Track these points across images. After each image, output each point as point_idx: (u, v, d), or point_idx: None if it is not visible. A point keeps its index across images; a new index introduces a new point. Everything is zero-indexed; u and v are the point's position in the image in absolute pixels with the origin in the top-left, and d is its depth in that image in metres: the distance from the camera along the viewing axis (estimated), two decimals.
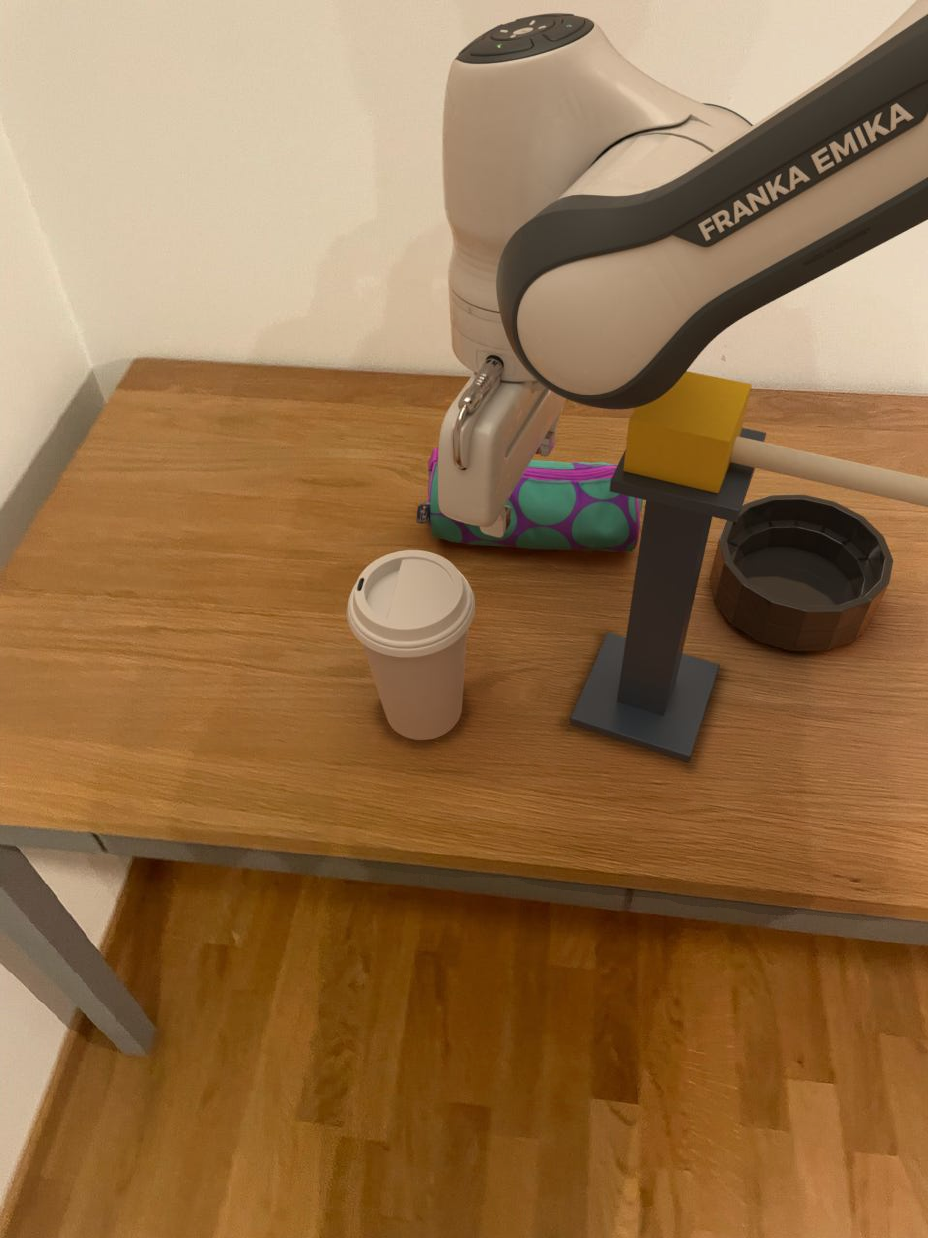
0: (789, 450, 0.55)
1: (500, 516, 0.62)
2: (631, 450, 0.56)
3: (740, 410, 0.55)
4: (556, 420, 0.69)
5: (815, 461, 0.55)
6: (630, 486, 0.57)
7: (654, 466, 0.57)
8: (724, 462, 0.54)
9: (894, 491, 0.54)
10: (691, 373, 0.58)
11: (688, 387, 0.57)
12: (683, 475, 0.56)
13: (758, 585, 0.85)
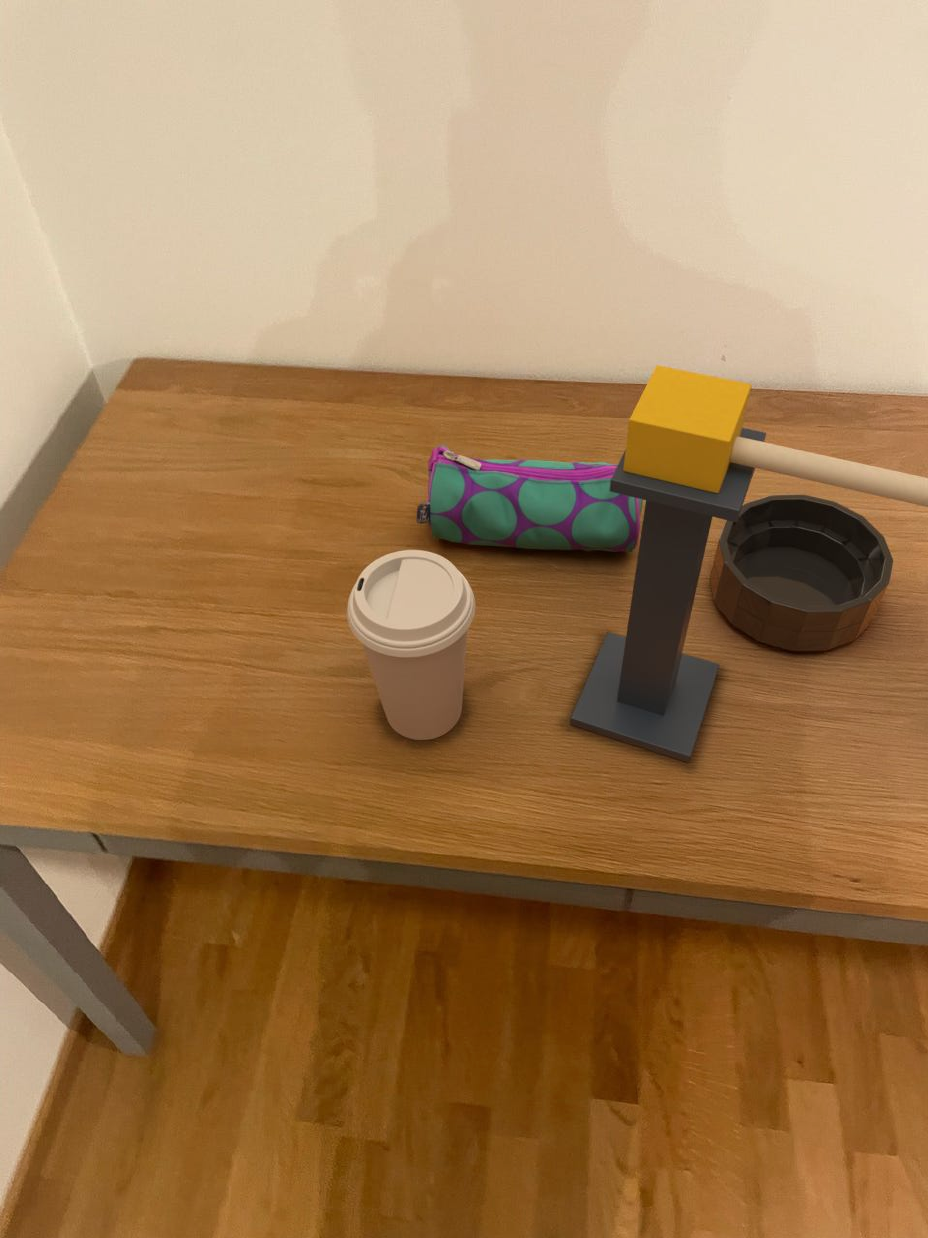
0: (789, 450, 0.55)
1: None
2: (631, 450, 0.56)
3: (740, 410, 0.55)
4: None
5: (815, 461, 0.55)
6: (630, 486, 0.57)
7: (654, 466, 0.57)
8: (724, 462, 0.54)
9: (894, 491, 0.54)
10: (691, 373, 0.58)
11: (688, 387, 0.57)
12: (683, 475, 0.56)
13: (758, 585, 0.85)
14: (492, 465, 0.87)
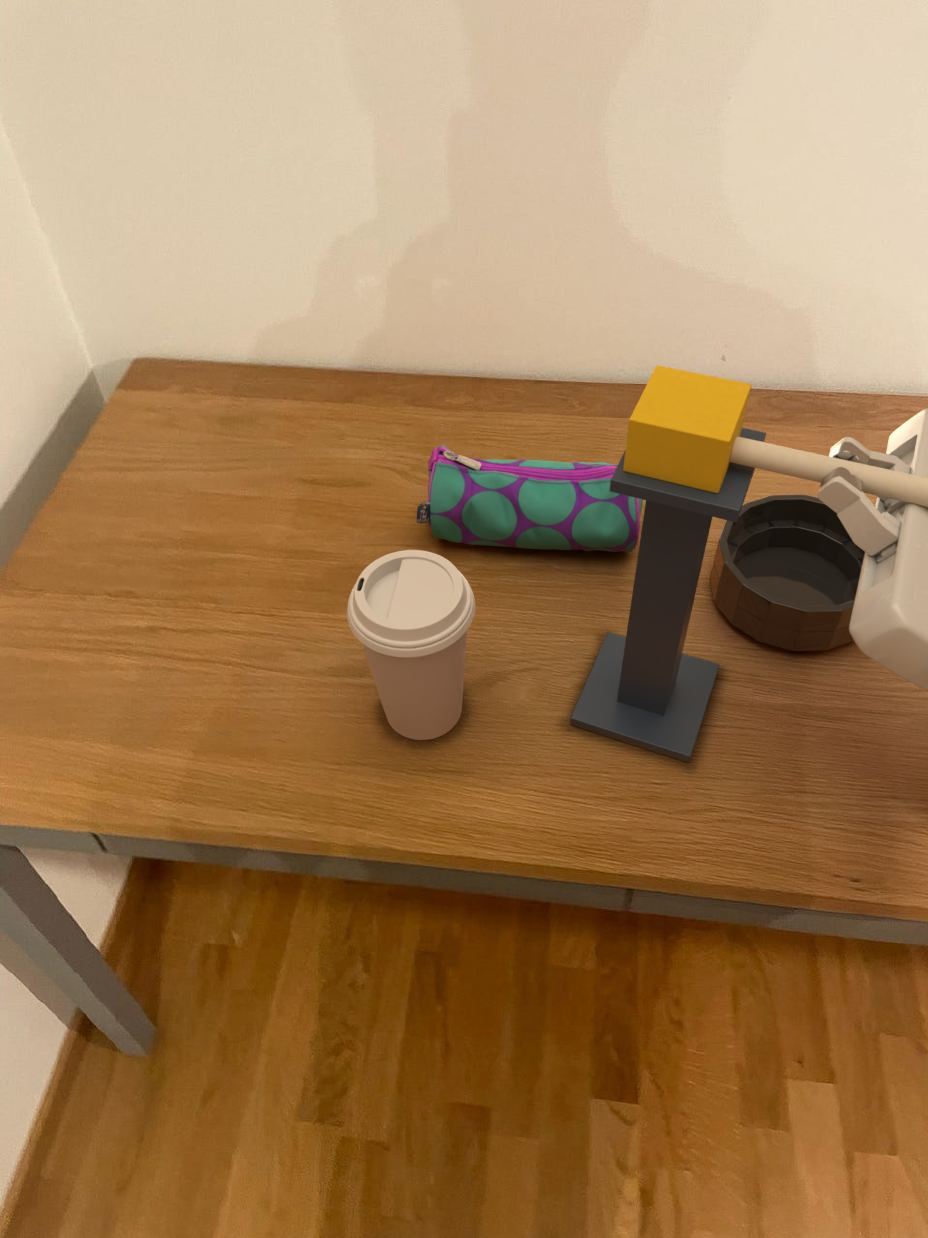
0: (789, 450, 0.55)
1: (846, 529, 0.54)
2: (631, 450, 0.56)
3: (740, 410, 0.55)
4: None
5: (815, 461, 0.55)
6: (630, 486, 0.57)
7: (654, 466, 0.57)
8: (724, 462, 0.54)
9: (894, 491, 0.54)
10: (691, 373, 0.58)
11: (688, 387, 0.57)
12: (683, 475, 0.56)
13: (758, 585, 0.85)
14: (492, 465, 0.87)
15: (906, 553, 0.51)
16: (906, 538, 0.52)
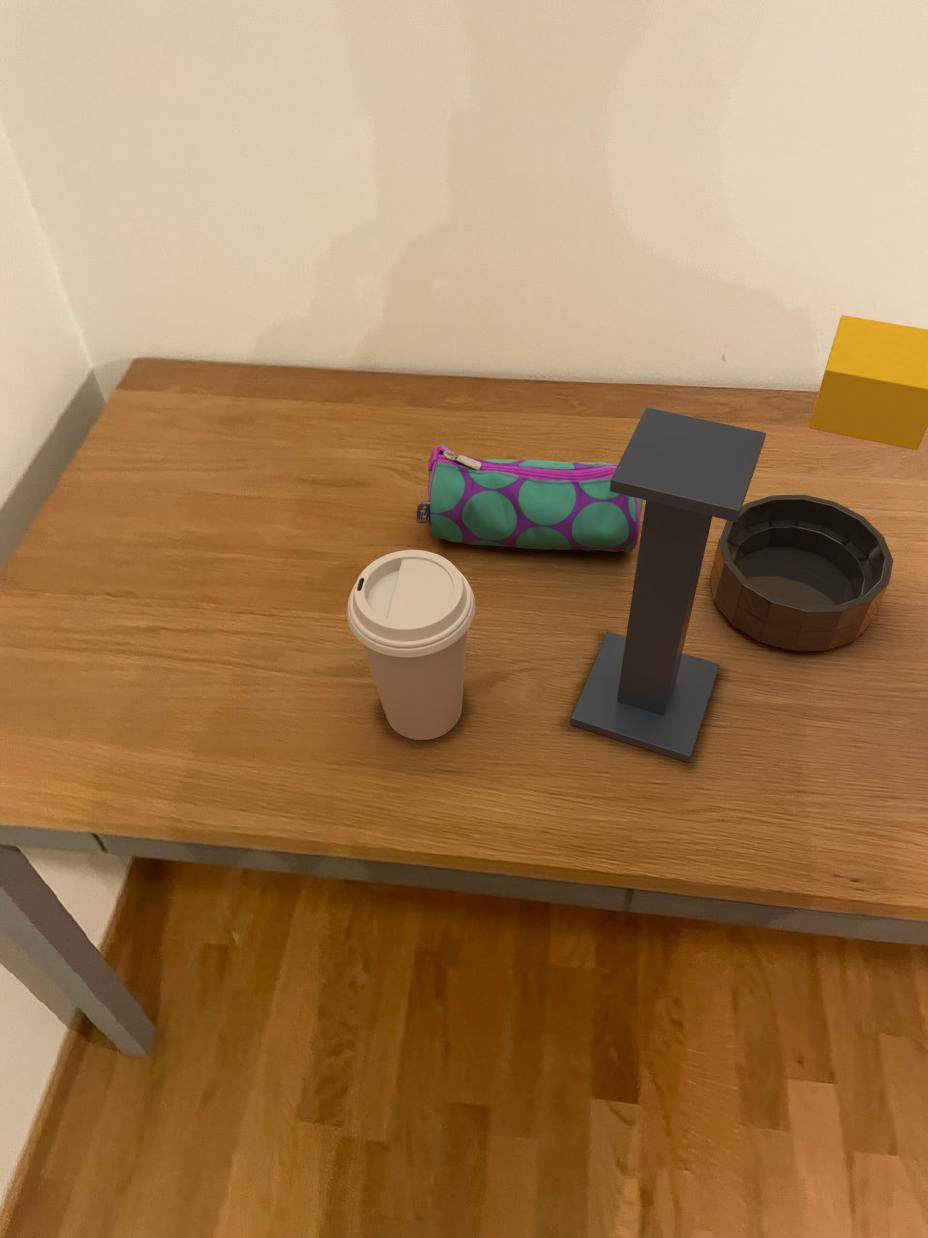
0: None
1: None
2: (822, 404, 0.52)
3: None
4: None
5: None
6: (630, 486, 0.57)
7: (846, 422, 0.52)
8: None
9: None
10: (881, 322, 0.54)
11: (882, 336, 0.53)
12: (880, 431, 0.52)
13: (758, 585, 0.85)
14: (492, 465, 0.87)
15: None
16: None
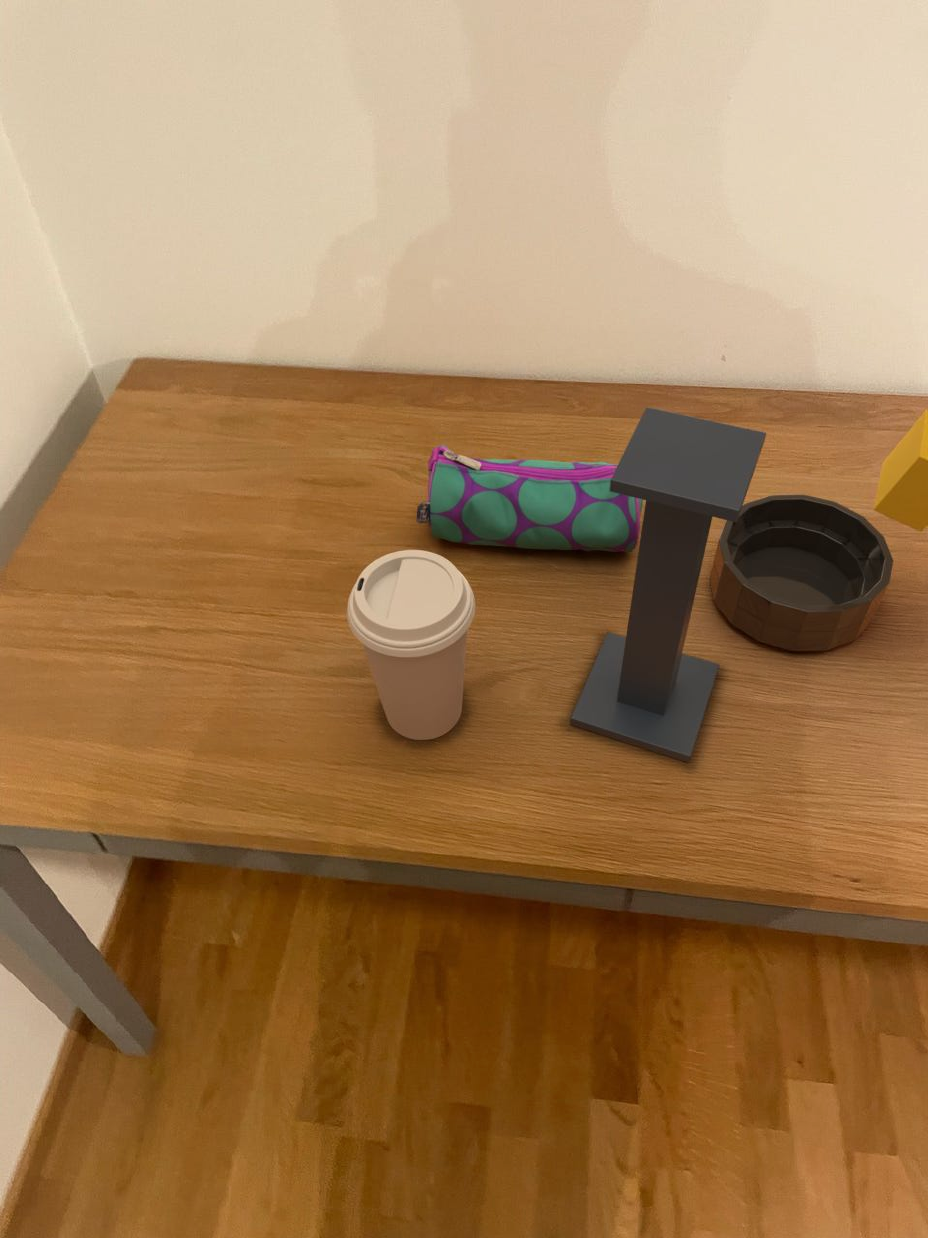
0: None
1: None
2: (902, 519, 0.71)
3: (923, 431, 0.68)
4: None
5: None
6: (630, 486, 0.57)
7: (924, 510, 0.70)
8: None
9: None
10: (898, 444, 0.73)
11: (897, 454, 0.72)
12: None
13: (758, 585, 0.85)
14: (492, 465, 0.87)
15: None
16: None
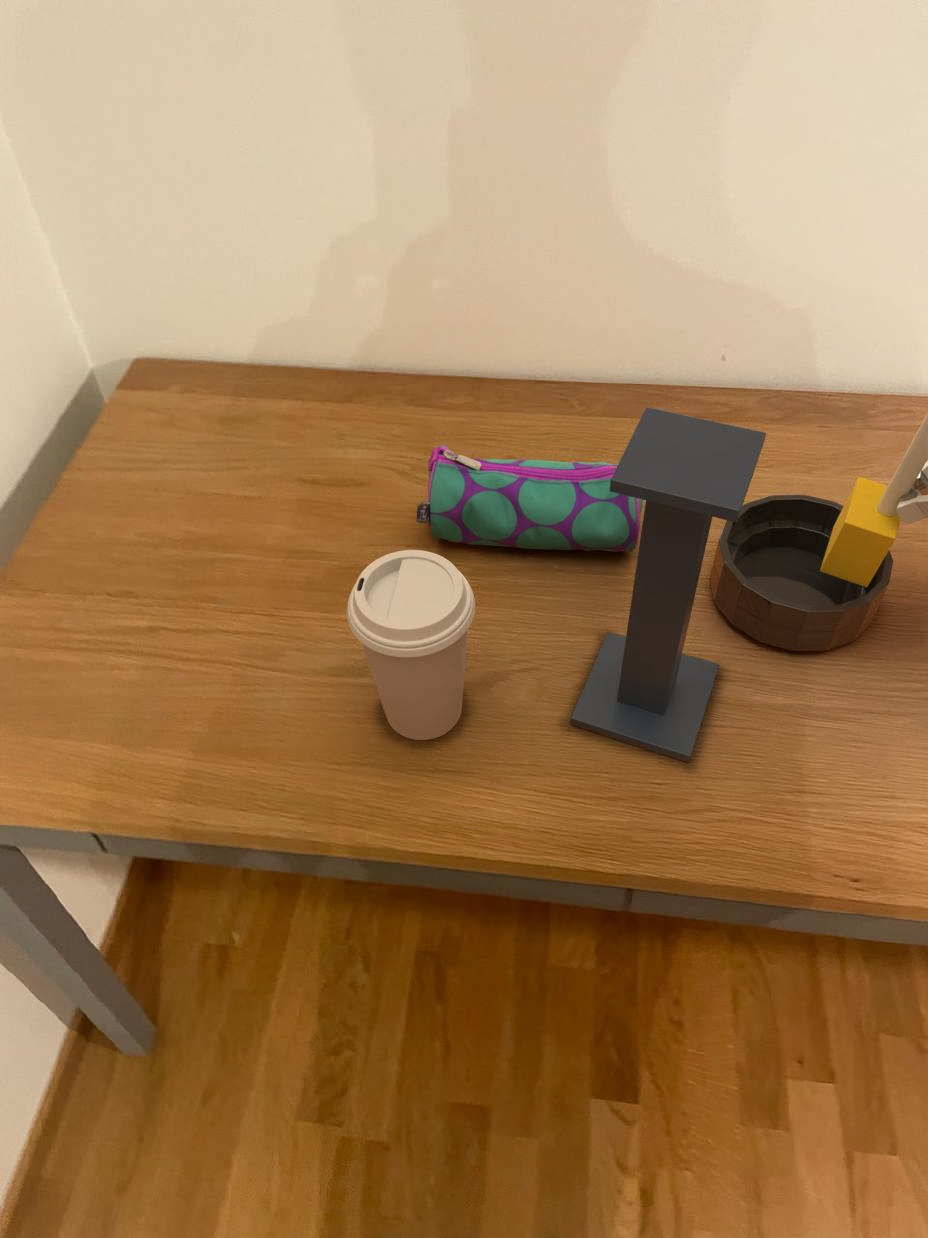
0: (892, 477, 0.72)
1: None
2: (847, 577, 0.78)
3: (852, 498, 0.76)
4: None
5: (901, 464, 0.71)
6: (630, 486, 0.57)
7: (864, 569, 0.76)
8: (864, 529, 0.73)
9: None
10: (842, 509, 0.80)
11: (839, 518, 0.79)
12: (874, 554, 0.75)
13: (758, 585, 0.85)
14: (492, 465, 0.87)
15: None
16: None
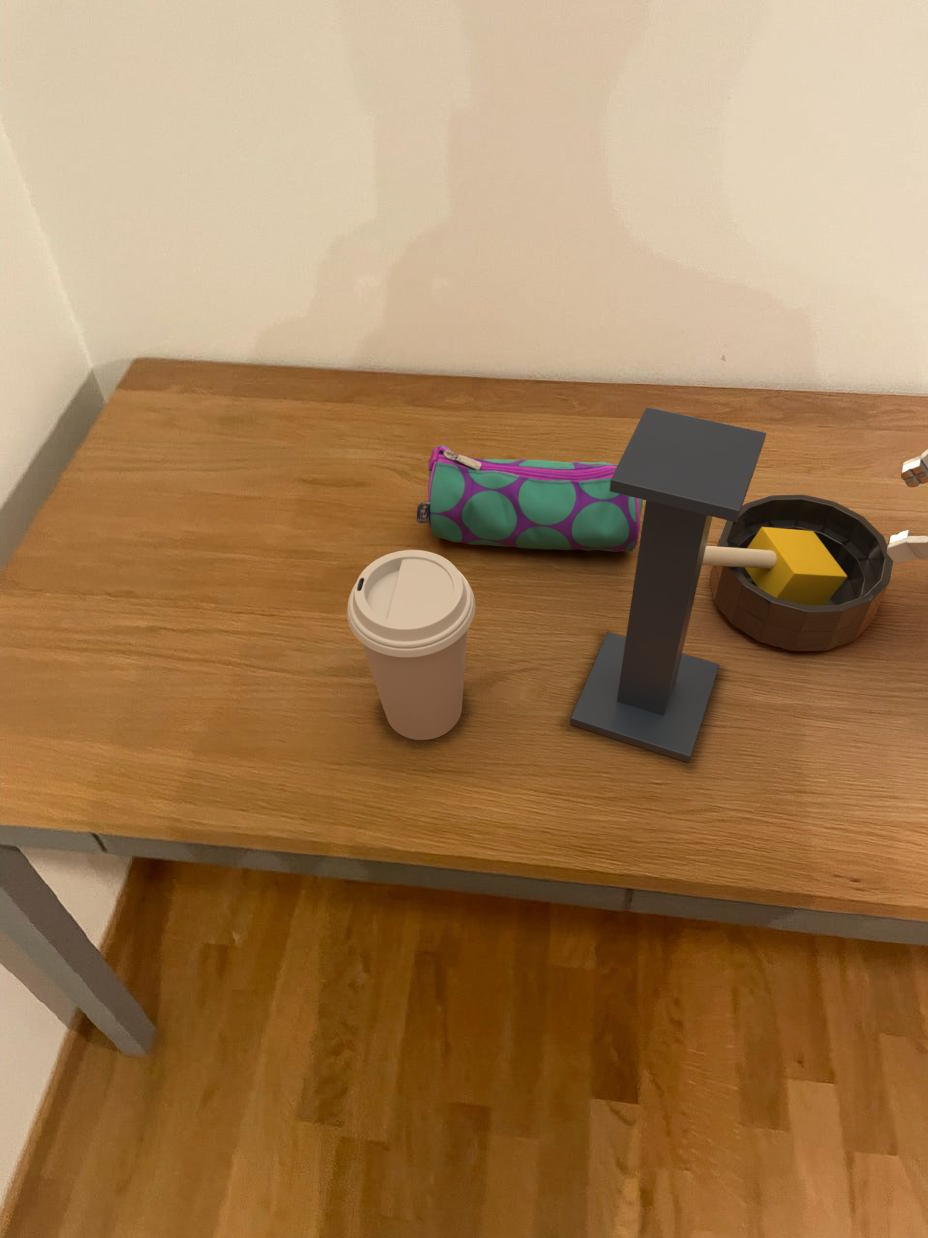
0: None
1: None
2: (833, 590, 0.81)
3: (754, 581, 0.82)
4: None
5: None
6: (630, 486, 0.57)
7: (825, 583, 0.80)
8: (779, 593, 0.79)
9: None
10: None
11: None
12: (809, 581, 0.79)
13: None
14: (492, 465, 0.87)
15: None
16: None
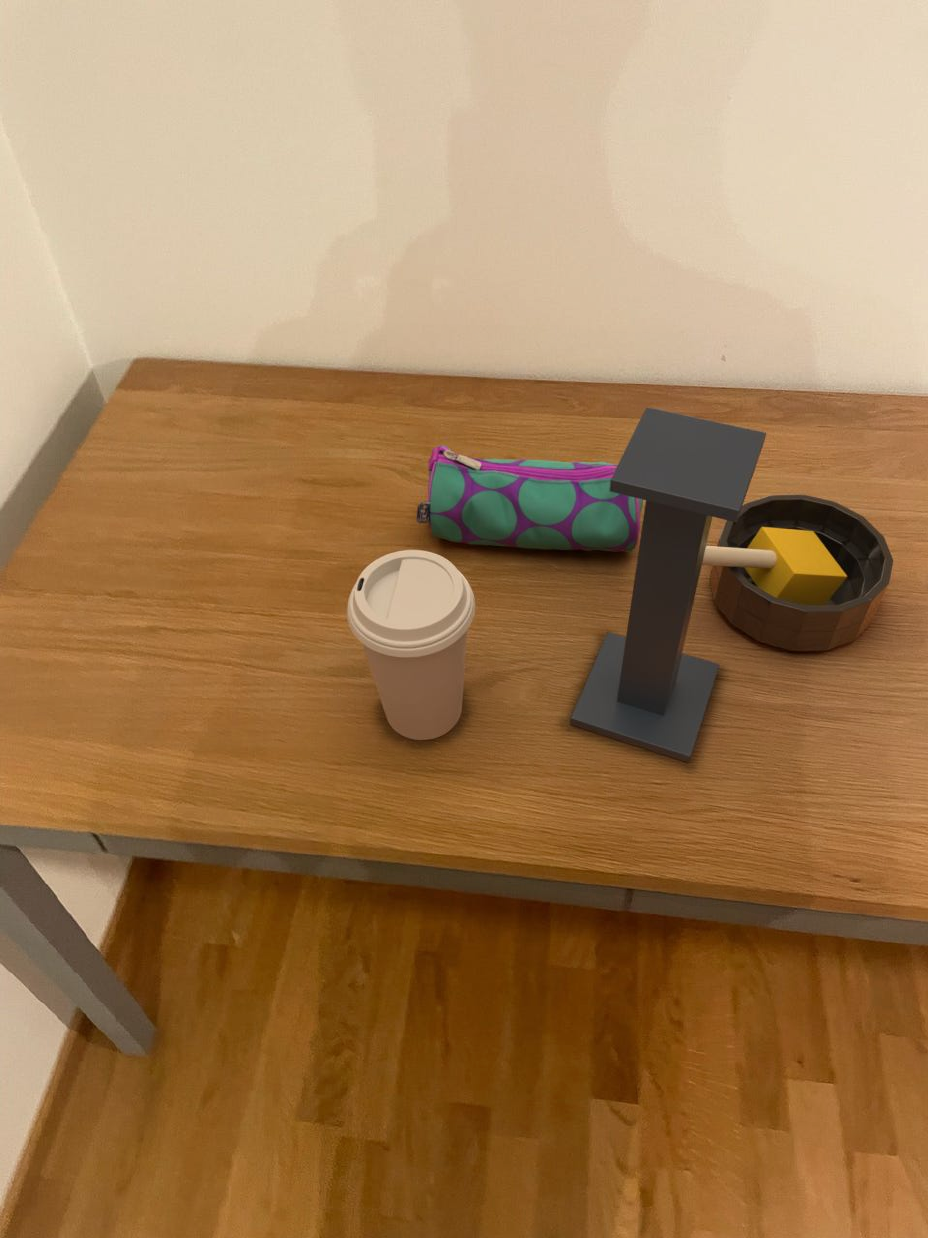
0: None
1: None
2: (833, 590, 0.81)
3: (754, 581, 0.82)
4: None
5: None
6: (630, 486, 0.57)
7: (825, 583, 0.80)
8: (779, 593, 0.79)
9: None
10: None
11: None
12: (809, 581, 0.79)
13: None
14: (492, 465, 0.87)
15: None
16: None
